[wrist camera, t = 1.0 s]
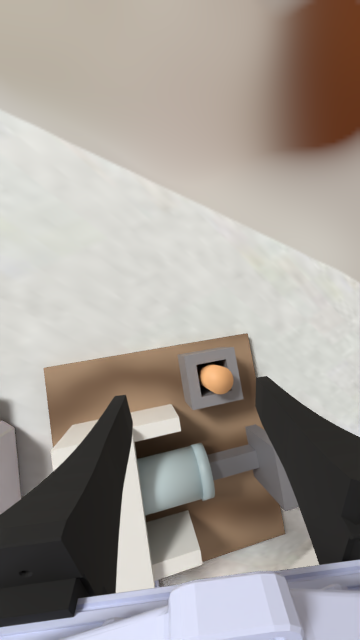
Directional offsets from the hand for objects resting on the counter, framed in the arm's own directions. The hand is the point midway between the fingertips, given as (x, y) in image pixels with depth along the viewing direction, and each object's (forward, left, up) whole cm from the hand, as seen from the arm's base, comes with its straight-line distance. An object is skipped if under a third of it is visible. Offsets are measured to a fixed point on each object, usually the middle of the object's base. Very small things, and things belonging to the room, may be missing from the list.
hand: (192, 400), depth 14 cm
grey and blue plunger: (-9, 0, -13) cm, 16 cm away
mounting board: (-8, +1, -14) cm, 16 cm away
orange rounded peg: (-1, -4, -11) cm, 12 cm away
